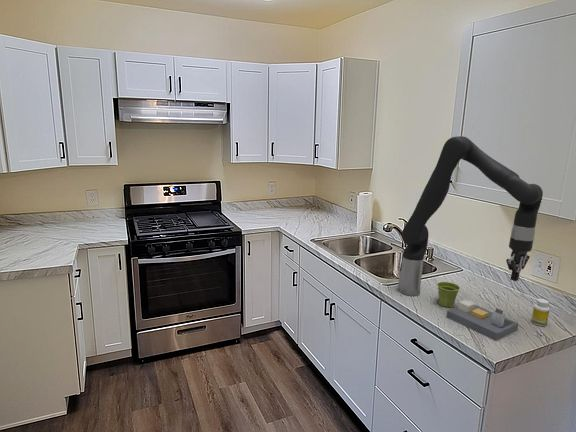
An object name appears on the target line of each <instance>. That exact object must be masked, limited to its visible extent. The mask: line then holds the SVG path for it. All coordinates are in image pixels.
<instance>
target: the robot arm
mask: <svg viewBox="0 0 576 432" xmlns="http://www.w3.org/2000/svg"><path fill="white" fill-rule="evenodd" d="M461 160H463V161H465V162H468V163H470V164H471V165H473V166H474V167H475V168H477V169H478V170H479V171H480V172H481V173H482V174H483V175H484V176H485V177H486V178H488V179H489V181H491V182H493V183H494V184H496V186H499V187H500V188H502V189H503V190H505V191H506V192H507V193H508V194H509V195H510V196H511V197H512V198H514V199H515V200H516V201H518V202H519V205H518V208H517V210H516V211H515V214H514V219H513V225H512V228H511V231H510V238H509V244H508V248H509V249H511V253H510V258H506V259H505V261H506V265H507V267H508V270H510V271H511V275H510V280H511V281H514V282H518V281H519V277H520V273H521V271H522V270H524V269H525V267H526V265H527V263H528V261H529V259H530V257H531V256H530V255H528V253H529V252H531V251H532V250H533V245H534V240H535V234H536V225H537V220H538V218H537V217H538V213H539V209H540V208H541V204H542V201H541V200H543V197H542V196H543V194H544V192H543V189H542V187H541V186H540V185H538V184H535V183H528V182H526V181H525V180H523V179H522V178H521V177H520V176H519V174H518V173H516V172H515V171H513V170H511V169H510V168H509V167H507V166H505V165H503V164H502V163H500V162H498V161H497V160H496V159H494V158H493V157H491V156H490V155H488V154H487V153H486V152H485V151H483V150H482V149H481V148H479V147H478V146H477V145H476V144H475V143H474V142H473V141H472V140H471V139H470V138H468V137H467V136H461V135H460V136H452V137H450V138H448V139H447V140H446V141H445V143H444V145H443V146H442V148H441V152H440V153H439V157H438V160H437V163H436V165H435V168H434V170H433V171H432V172H431V175H430V177H429V179H428V180H427V183H426V185H425V187H424V189H423V191H422V193H421V195H420V198H419V200H418V202H417V203H416V206H415V208H414V210H413V212H412V214H411V216H410V218H409V219H408V220H407V222H406V224H405V225H404V227H403V228H402V231H401V239H402V241H403V242H404V244H406V247H405V248H404V249H403V250H402V251H403V252H402V259H401V260H402V262H401V270H399V273H398V281H397V282H398V283H397V291H399V293H401V294H402V295H404V296H409V297H417V296H419V295H420V293H421V284H422V276H423V267H424V260H425V259H424V258H425V257H424V256H425V255H426V252H427V250H428V249H427V248H428V242H429V230H428V227H427V226H426V224H427V222H428V221H429V219H430V218H432V216H433V215H434V214H435V213H436V212H437V211H438V210H439V208H440V207H441V206H442V204H443V203H444V201H445V199H446V197H447V195H448V192H449V190H450V185H451V181H452V175H453V173H454V171H455V168H456V167H457V166H458V164H459V163H460V161H461Z"/></svg>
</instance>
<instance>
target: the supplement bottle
mask: <svg viewBox="0 0 576 432" xmlns="http://www.w3.org/2000/svg"><path fill="white" fill-rule="evenodd" d="M532 307H533V308H532V313H531V317H530V318H531V319H530V322H531V323H532V324H534V325H536V326H539V327H545V326H547V323H548V319H549V314H550V307H549V300H547V299H544V298H537V299H536V303H535V304H534V305H533V306H532Z"/></svg>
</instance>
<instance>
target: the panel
mask: <svg viewBox="0 0 576 432" xmlns="http://www.w3.org/2000/svg"><path fill="white" fill-rule="evenodd" d="M478 308H479V309H481V310H483V311H486V312H488V313H489V314H488V317H487V318H485V319H483V320H481V319H479V318H477V317H474V316H472V315H471V313H465V312H463V311H461V310H459V309H458V306H456V307H453V308H452V307H451V308H449V309H448V310H446V318H447V319H449V320H452V321H453V322H456V323H458V324H460V325H462V326H464V327H466V328H469V329H471V330H473V331H475V332H476V333H478V334H480V335H483V336H485V337H487V338H489V339H491V340H493V341H494V342H496V341H498V340H501V339H502V338H505V337H507V336H509V335H510V334H512V333H515V332H517V331H518V329H519V324H520V323H519V322H516V321H515V320H512V319H510V318H507V317H505V319H504V325H503V327H499V326H497V325H495V324H492V323H491V318H492V312H493V311H491V310H488V309H485V308H483V307H481V306H478V305H476V304H475V308H474V310H475V309H478Z"/></svg>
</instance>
